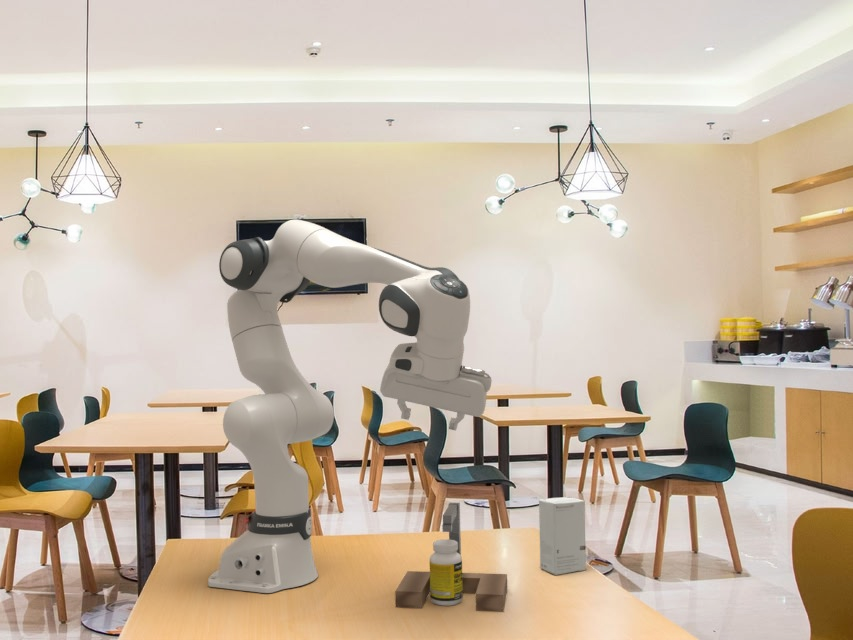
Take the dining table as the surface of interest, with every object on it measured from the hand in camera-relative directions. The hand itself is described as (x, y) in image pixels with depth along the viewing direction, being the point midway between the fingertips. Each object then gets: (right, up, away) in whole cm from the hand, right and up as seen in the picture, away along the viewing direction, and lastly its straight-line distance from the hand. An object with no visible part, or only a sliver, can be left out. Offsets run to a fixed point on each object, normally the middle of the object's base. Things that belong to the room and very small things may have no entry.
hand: (429, 423), depth 146 cm
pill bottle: (+3, -33, -3) cm, 34 cm away
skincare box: (+29, -33, +14) cm, 46 cm away
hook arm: (+5, -33, -2) cm, 34 cm away
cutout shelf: (+5, -33, -2) cm, 34 cm away
